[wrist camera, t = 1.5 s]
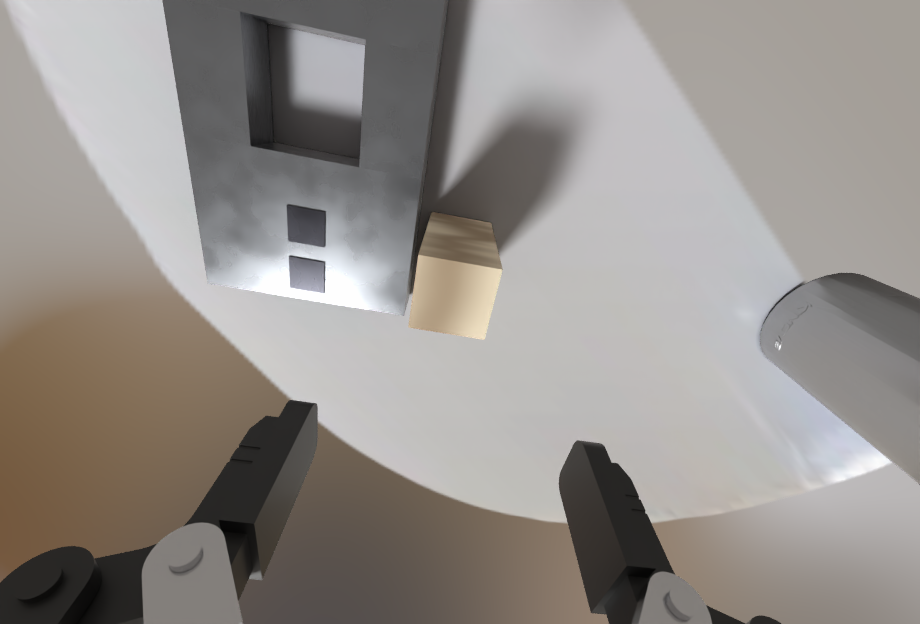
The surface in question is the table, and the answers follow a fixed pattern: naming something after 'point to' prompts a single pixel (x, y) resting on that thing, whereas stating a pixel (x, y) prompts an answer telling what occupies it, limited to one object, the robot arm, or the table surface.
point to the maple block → (456, 277)
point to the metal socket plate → (304, 170)
